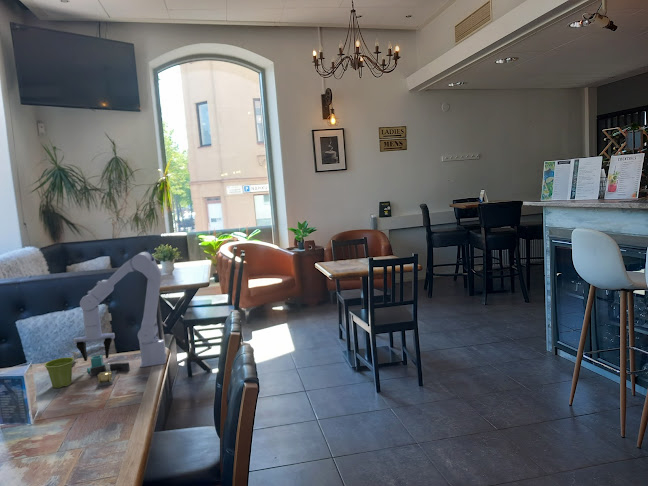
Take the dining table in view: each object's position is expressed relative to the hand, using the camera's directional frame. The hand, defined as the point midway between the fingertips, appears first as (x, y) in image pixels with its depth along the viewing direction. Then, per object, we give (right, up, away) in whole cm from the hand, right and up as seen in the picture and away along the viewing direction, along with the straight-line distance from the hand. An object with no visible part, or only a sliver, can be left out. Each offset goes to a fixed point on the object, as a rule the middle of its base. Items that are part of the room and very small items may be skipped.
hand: (96, 358), depth 191 cm
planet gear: (0, -4, 0) cm, 4 cm away
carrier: (+9, -5, -10) cm, 14 cm away
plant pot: (-6, -6, -14) cm, 16 cm away
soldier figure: (-15, -5, +8) cm, 17 cm away
